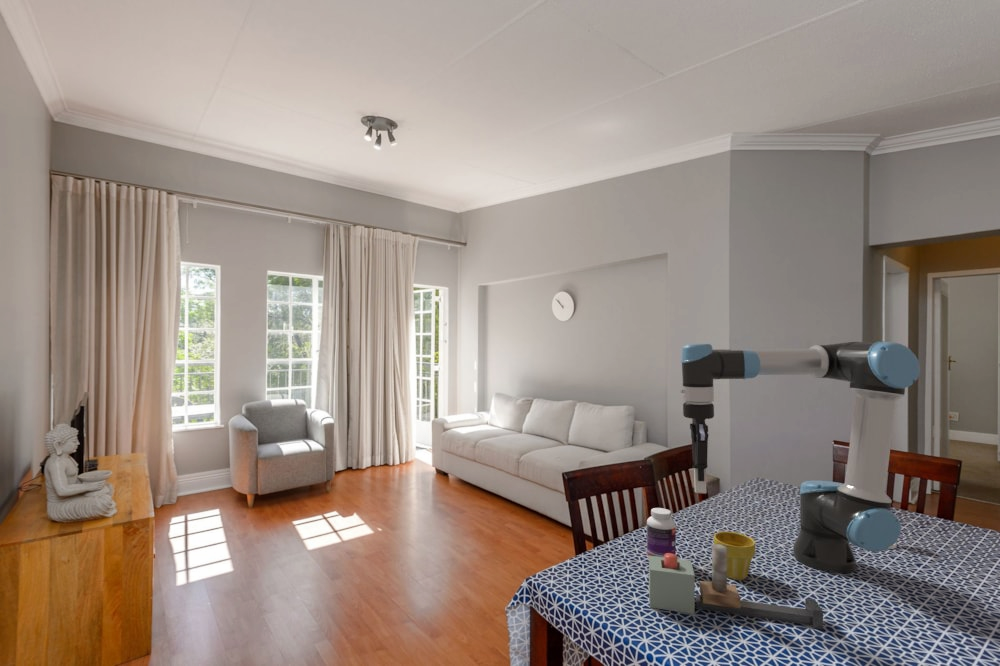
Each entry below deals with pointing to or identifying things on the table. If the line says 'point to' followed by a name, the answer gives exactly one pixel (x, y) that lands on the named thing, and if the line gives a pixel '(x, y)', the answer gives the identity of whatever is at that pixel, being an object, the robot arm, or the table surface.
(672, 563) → the plunger
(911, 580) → the table surface
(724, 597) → the carriage
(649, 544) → the pill bottle
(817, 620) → the rail
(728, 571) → the plant pot
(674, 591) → the switch box
